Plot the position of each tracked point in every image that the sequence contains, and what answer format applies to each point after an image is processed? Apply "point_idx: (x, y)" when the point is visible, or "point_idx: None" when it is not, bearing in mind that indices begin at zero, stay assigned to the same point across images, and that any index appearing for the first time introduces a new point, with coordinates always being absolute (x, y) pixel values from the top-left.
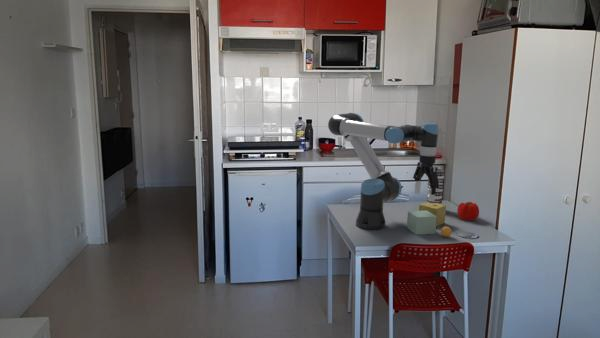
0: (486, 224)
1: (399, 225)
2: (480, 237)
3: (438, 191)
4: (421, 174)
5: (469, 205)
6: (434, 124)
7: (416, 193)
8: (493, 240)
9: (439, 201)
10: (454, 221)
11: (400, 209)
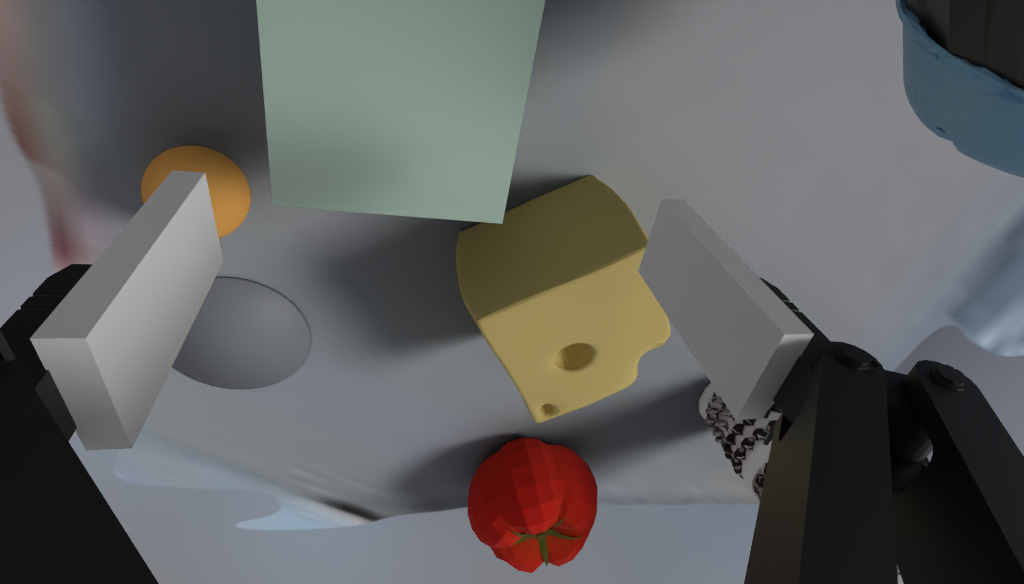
0: (414, 495)
1: None
2: (185, 381)
3: None
4: (773, 567)
5: (542, 538)
6: None
7: (656, 221)
8: None
9: (734, 450)
10: (513, 391)
11: (875, 213)
